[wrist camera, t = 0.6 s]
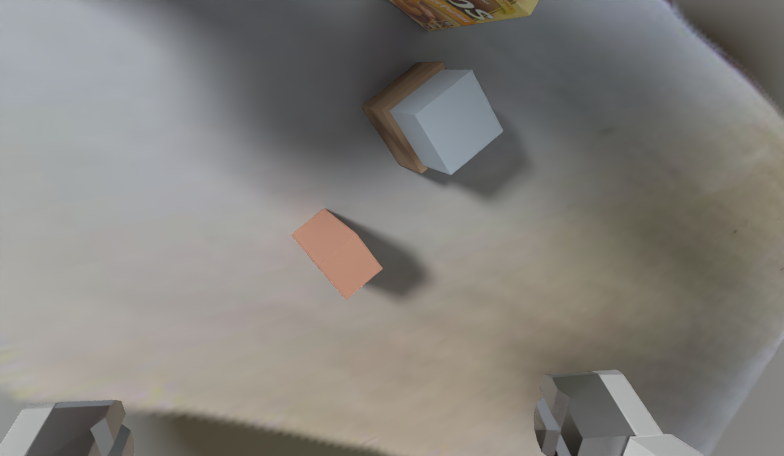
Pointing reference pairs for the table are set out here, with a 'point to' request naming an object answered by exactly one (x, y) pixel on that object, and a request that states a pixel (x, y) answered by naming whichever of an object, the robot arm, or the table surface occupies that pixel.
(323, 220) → the post
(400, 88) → the tower base
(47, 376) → the table surface
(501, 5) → the candy box
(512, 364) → the table surface
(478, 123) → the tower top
